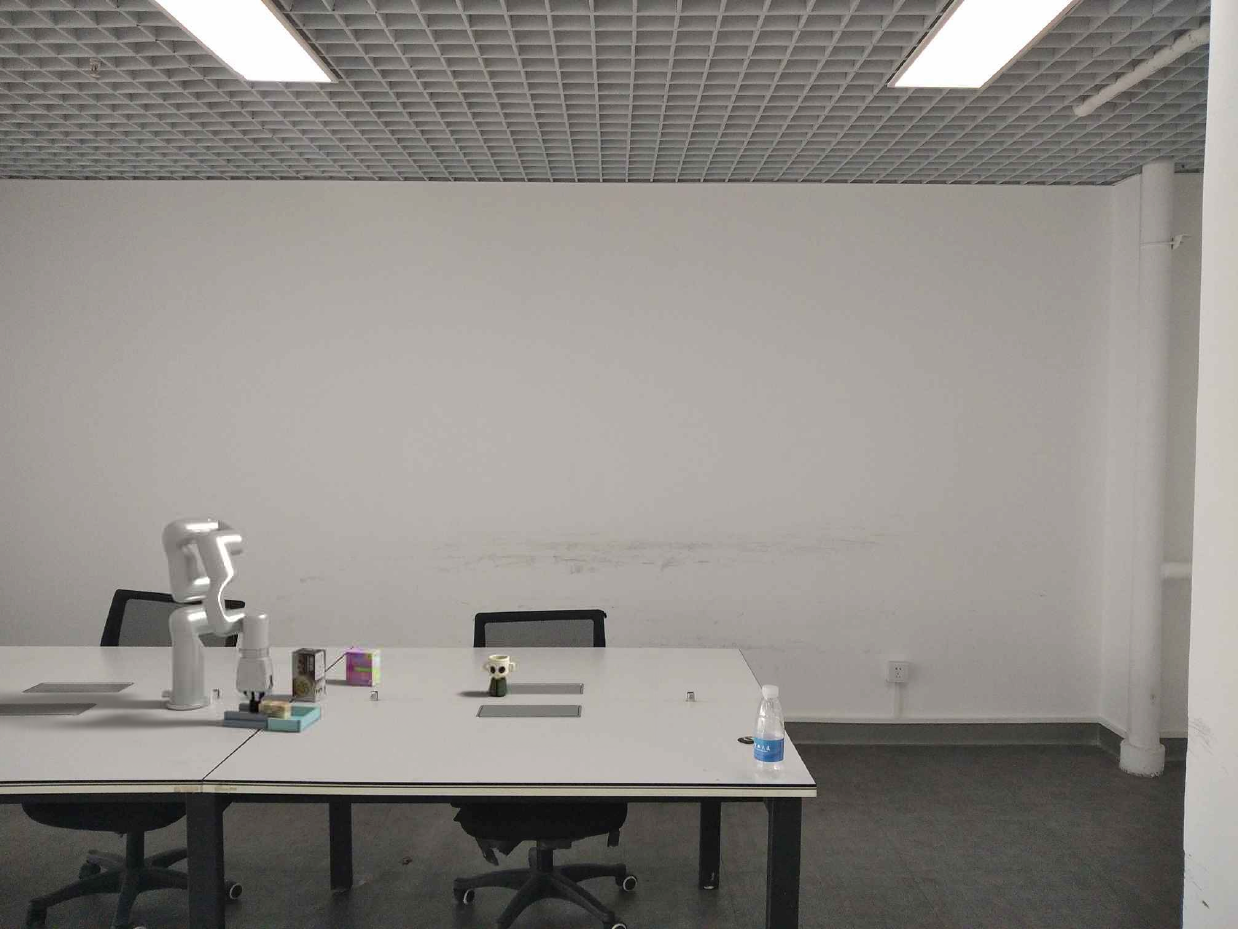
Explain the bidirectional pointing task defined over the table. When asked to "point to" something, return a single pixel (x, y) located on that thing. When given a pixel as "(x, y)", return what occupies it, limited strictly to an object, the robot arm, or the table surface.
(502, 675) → the character mug
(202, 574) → the robot arm
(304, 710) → the tray
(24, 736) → the table surface
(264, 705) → the chip
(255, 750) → the table surface
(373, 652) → the box
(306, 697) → the coffee box
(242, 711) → the slot rail
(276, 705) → the chip
